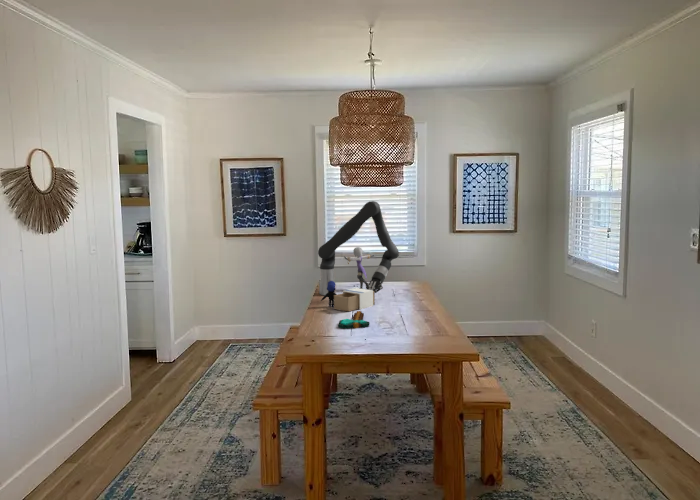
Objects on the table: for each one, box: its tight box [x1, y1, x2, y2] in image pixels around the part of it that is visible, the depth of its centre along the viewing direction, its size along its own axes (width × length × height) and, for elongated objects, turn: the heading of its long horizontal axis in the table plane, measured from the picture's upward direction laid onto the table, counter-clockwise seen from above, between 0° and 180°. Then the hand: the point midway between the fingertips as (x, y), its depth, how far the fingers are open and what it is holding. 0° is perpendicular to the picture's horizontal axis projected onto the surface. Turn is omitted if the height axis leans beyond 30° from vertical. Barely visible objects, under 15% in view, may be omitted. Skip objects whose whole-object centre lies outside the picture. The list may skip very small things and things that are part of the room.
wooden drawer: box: [333, 291, 376, 312], centre depth 326 cm, size 24×11×8 cm, turn 139°
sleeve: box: [342, 287, 374, 311], centre depth 328 cm, size 12×14×10 cm
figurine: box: [343, 246, 375, 289], centre depth 381 cm, size 17×21×30 cm
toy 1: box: [320, 280, 338, 308], centre depth 330 cm, size 13×6×15 cm, turn 84°
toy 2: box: [337, 310, 370, 329], centre depth 291 cm, size 16×3×30 cm
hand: (367, 297), depth 336 cm, fingers closed
